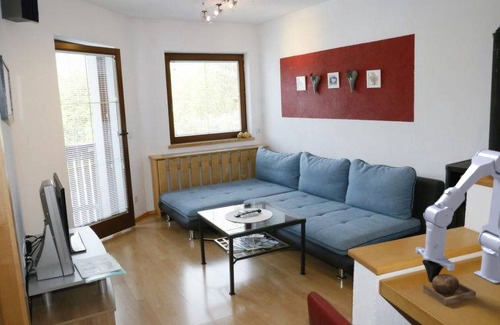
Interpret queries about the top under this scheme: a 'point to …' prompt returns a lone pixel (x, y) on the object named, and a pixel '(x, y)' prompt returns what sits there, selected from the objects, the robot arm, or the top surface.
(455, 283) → the mushroom
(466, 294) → the walnut frame
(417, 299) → the top surface
